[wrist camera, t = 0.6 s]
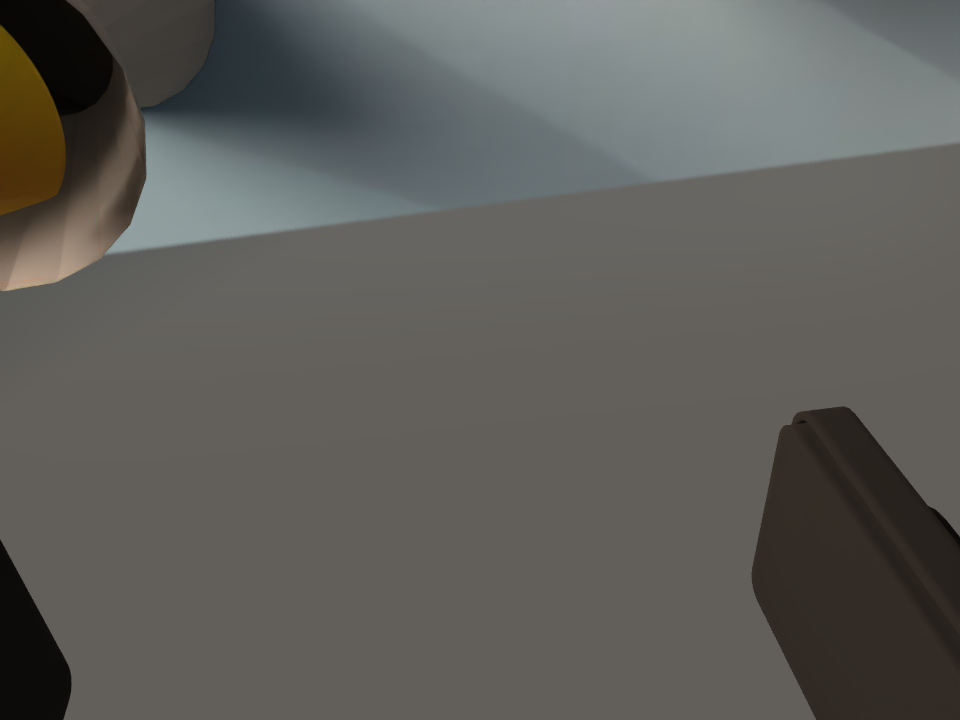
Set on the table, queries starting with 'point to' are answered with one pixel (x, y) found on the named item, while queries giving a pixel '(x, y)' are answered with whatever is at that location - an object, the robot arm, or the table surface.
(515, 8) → the table surface
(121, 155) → the lava lamp
